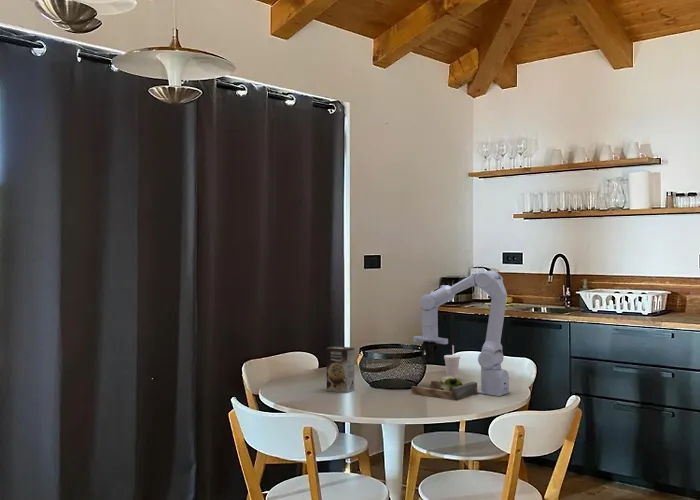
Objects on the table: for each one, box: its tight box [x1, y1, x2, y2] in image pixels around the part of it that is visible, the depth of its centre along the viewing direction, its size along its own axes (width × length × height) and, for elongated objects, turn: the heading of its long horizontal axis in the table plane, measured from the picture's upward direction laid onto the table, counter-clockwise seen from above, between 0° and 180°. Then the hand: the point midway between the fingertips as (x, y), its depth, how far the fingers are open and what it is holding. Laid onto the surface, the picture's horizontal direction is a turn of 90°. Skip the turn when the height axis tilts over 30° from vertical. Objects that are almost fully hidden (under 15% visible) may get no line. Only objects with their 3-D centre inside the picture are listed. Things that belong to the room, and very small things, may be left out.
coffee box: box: [325, 345, 356, 394], centre depth 255 cm, size 9×6×16 cm
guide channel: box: [411, 380, 478, 401], centre depth 247 cm, size 19×14×4 cm
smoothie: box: [443, 344, 461, 379], centre depth 272 cm, size 6×6×14 cm
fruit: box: [439, 375, 464, 391], centre depth 247 cm, size 9×9×8 cm
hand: (430, 361), depth 260 cm, fingers closed
